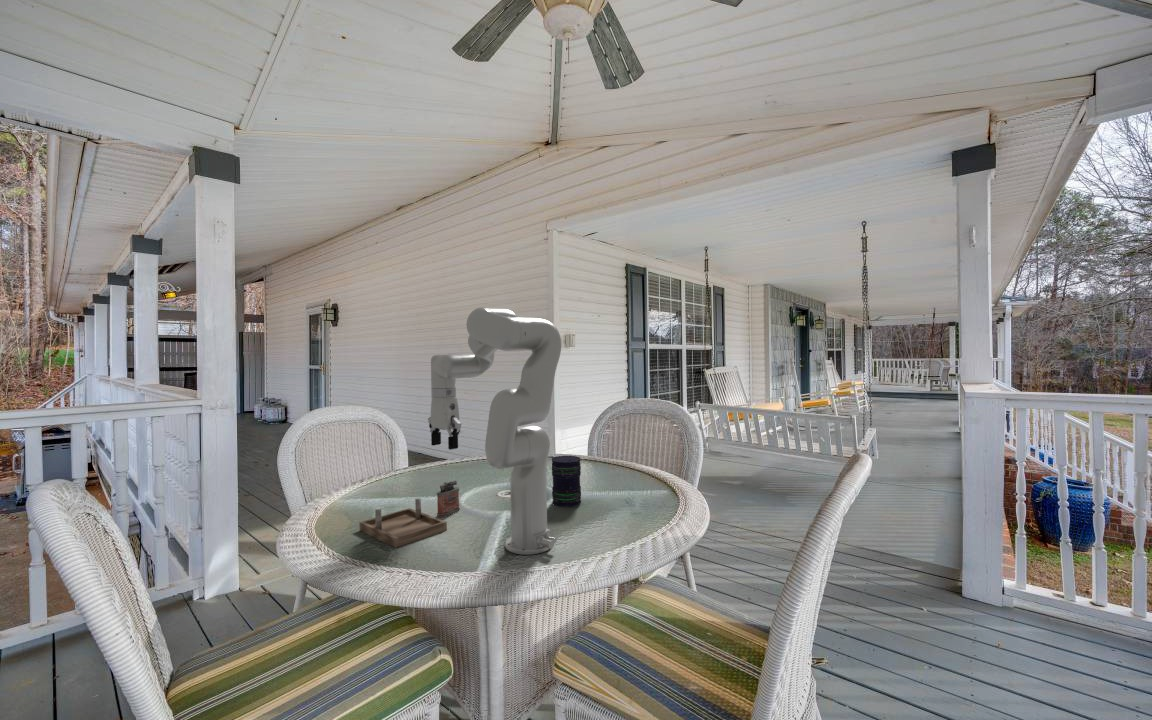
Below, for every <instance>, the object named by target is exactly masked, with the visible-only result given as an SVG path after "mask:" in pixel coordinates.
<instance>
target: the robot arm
mask: <svg viewBox="0 0 1152 720" xmlns="http://www.w3.org/2000/svg"><path fill="white" fill-rule="evenodd" d="M466 331H467V333H468V337H467V344H468V347H469V350H470V351H471V352H472V353H453V354H452V353H451V354H450V353H448V354H433V355H432V356H431V358H430V387H431V389H430V391H431V396H430V397H431V404H430V417H429V416H428V417H429V418H427V422H428V427H429V429H430V436H431V437H430V438H431V446H437V445H438V446H439V445H441V444H442V435H441V434H442V432H441V430H443V431H447V433H448V439H447V442H448V443H447V444H448V445H447V446H448V447H447V448H448V450H449V451H451V450H456V449H458V448H459V436H460V432H461V427H462V422H461V421H460V410H459V404H458V399H457V393H456V392H457V391H456V390H457V386H456V385H457V384H456V382H457V381H456V380H457V379H470V378H477V377H479V376H481V375H482V374H484V373H485V372H486V371H488V370H489V369H490V368H491V367H492V366H493V363H494V361H495V352H497V350H500V351H505V352H516V351H519V352H520V351H531V354H530V356H529V357H528V358H527V359H526V361H525V363H524V365H523V367H522V370H521V376H520V381H519V384H518V387H513V388H506V389H502V390H500V391H498V392H497V393H496V394H495V396H494V397H493V399H492V400H491V403H490V405H489V407H490V408H489V414H488V421H487V427H486V434H485V435H486V436H485V445H484V451H485V452H484V453H485V457H486V460H487V462H488V464H489V465H490V466H491V467H492V468H493V469H494V468H495V469H496V470H497V469H498V470H503V469H508V468H509V469H510V468H513V469H512V471H511V474H510V475H511V476H510V480H509V481H510V482H509V483H510V485H509V486H510V488H509V491H510V493H509V494H510V499H509V500H510V537H508V538H507V539H506V541H505V549H506V550H507V551H508V552H510V553H512V554H516V555H517V554H518V555H523V556H524V555H529V556H531V555H538V554H541V553H544V552H547V551H549V550H551V549H553V548H554V546H555V544H556V543H557V541H558V540H557V538H556V537H554V536H551V529H550V528H548V512H547V511H548V509H547V507H548V506H547V505H548V504H547V497H548V496H547V494H548V493H547V486H548V485H547V473H548V472H547V470H548V468H547V467H548V460H549V453H550V445H551V444H550V442H551V441H550V437H549V435H548V433H547V431H546V430H545V429H544V428H542V427H540V426H537V425H533V424H538V423H541V422H544V421H545V420H546V419H547V417H548V416H549V413H550V409H551V403H552V396H553V389H554V383H555V376H556V370H557V368H558V364H559V360H560V357H561V351H562V338H561V334H560V331H559V330H558V328H557V326H555V324H554V323H552V321H551V322H550V320H547V319H544V318H539V317H538V318H537V317H519V316H518V315H517V314H516V313H515V312H513V311H512V310H510V309H508V308H501V307H477V308H475V309H473V310H472V311H470V313H469V315H468V317H467V319H466Z"/></svg>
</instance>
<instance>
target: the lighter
mask: <svg viewBox="0 0 1152 720" xmlns="http://www.w3.org/2000/svg"><path fill="white" fill-rule="evenodd" d="M457 485H458V481H457V480H452V481H449V482H447V481H445V482H443V484H440V485H439V489H440V490H438V491H437V492H436V497H437V513H436V516H437V517H436V518H444V516H445V517H448V516H451V515H450V514H452V515H454V514H456V513H455V512H457V511H459V510H461V509H460V496H459V495H460V487H459V486H457ZM459 512H460V511H459ZM453 513H454V514H453ZM457 513H458V512H457ZM447 515H448V516H447Z"/></svg>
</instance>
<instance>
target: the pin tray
mask: <svg viewBox="0 0 1152 720" xmlns="http://www.w3.org/2000/svg"><path fill="white" fill-rule="evenodd" d="M374 513H375V517H373V518H369V519H366V520H363V521H359V531H360V532H362V533H364V534H366V535H367V536H370V537H372V538H375V539H376V540H377V541H381V542H383V543H385V544H387V545H388V546H391V547H393V548H395V549H396V548H399V547H401V546H405V545H407V544H410V543H413V542H416V541H419V540H422V539H425V538H428V537H431V536H435V535H436V534H439V533H442V532H445V531H447V530H448V524H447V523H448V522H447V521H446V520H443V519H440V518H439V517H434V516H432V515H429V514H426V513H423V512H422V498H420V497H417V498H415V509H412V508H410V507H408V508H404V509H401V510H398V511H394V512H391V513H388V514H384V515H383V514H382V509H381V508H378V509H375V510H374Z"/></svg>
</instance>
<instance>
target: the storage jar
mask: <svg viewBox="0 0 1152 720" xmlns="http://www.w3.org/2000/svg"><path fill="white" fill-rule="evenodd" d="M581 469H582V466H581V457H580V456H576V455H559V456H554V457H552V458H551V476H552V487H551V490H552V492H551V497H552V505H553V504H554V505H553V506H554V507H559V508H574V507H577V506H580V505H581V504H582V500H581V499H582V487H581V473H582V471H581Z"/></svg>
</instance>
